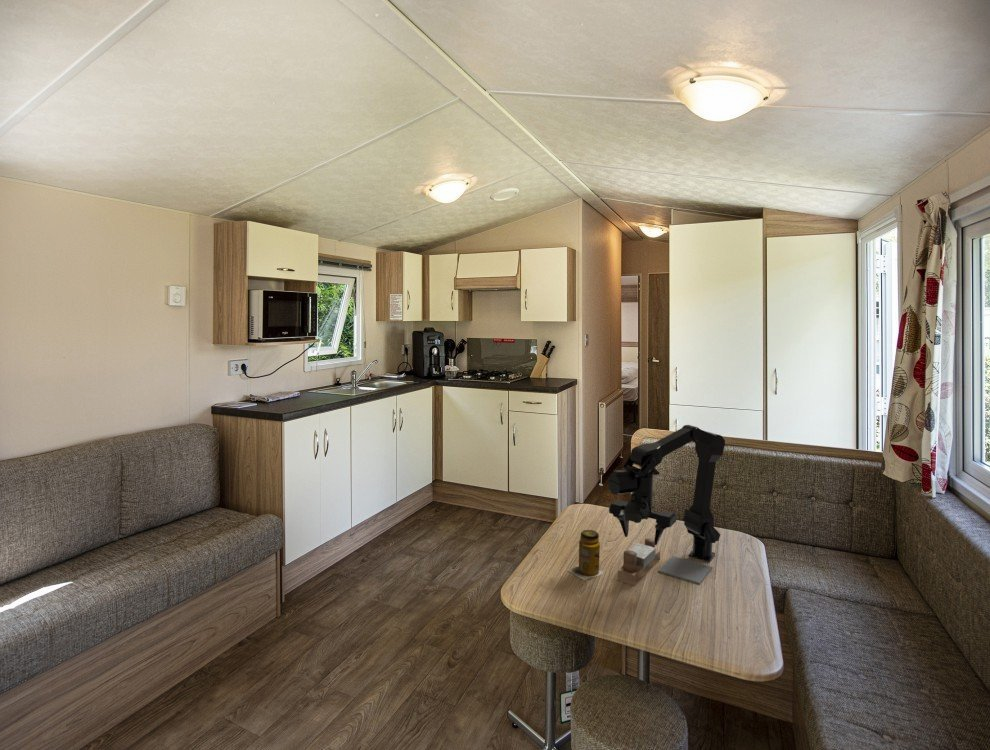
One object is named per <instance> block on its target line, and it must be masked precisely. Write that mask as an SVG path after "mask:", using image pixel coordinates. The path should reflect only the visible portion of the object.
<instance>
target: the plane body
mask: <svg viewBox="0 0 990 750" xmlns="http://www.w3.org/2000/svg"><path fill="white" fill-rule="evenodd" d="M644 545H647V546H650V547H654V548H656V545H655V538H654V539H653V538H649V537H647V538H645V539H644ZM636 559H637V553H636V552H634V551H631V550H629V549H627V550H624V551H623V565H622V566H621V567H620V568H619V569H617V581H619V582H622V583H625V584H628V585H631V586H635V585H636V584H637V583H639V581H640V580H642V578H643V577H644V576H646V575H647V574H648V572H649V571H650V570H652V569H653V568H654V567H655V566H656V564H658V563H659V561H661V550H659V549H656V553H655V558H654V559H653V560H652V561H651V562H650V563H649V564H648V565H647V566H646V567H645V568H644V569H643V568H640V567H636Z"/></svg>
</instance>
